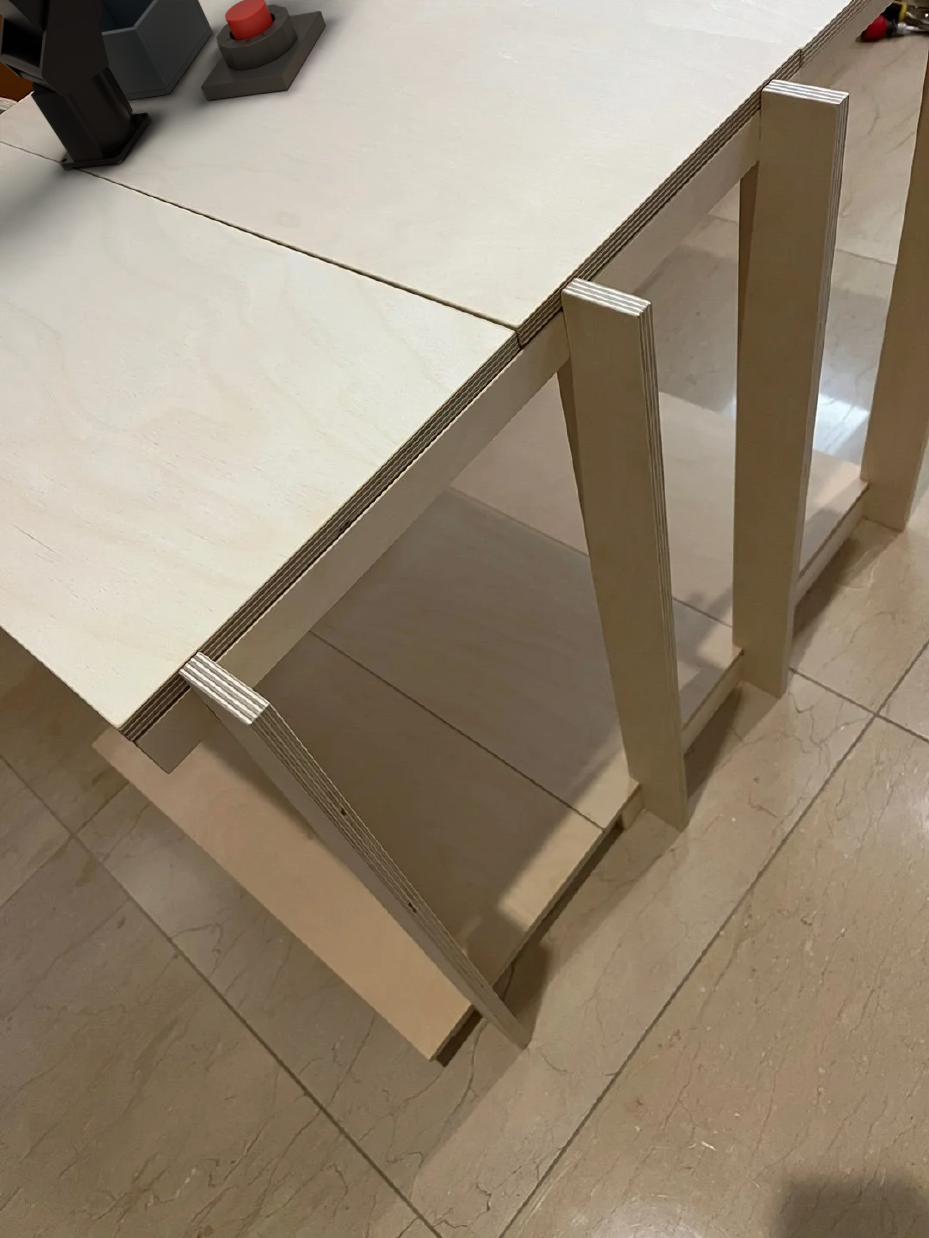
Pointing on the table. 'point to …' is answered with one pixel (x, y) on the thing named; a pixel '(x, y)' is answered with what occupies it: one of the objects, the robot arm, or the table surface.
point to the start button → (248, 19)
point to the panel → (263, 56)
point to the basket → (152, 42)
